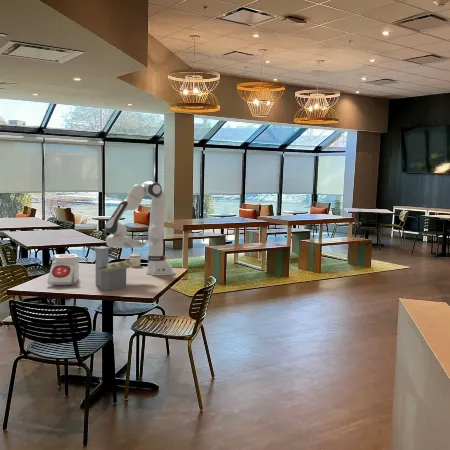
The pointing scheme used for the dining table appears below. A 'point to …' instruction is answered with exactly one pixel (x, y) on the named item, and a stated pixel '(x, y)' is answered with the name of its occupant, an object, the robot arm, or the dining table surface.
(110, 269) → the box with lid
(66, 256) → the white box
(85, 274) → the dining table surface
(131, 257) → the teacup with lid
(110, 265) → the block
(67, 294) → the dining table surface
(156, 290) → the dining table surface
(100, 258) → the plinth
